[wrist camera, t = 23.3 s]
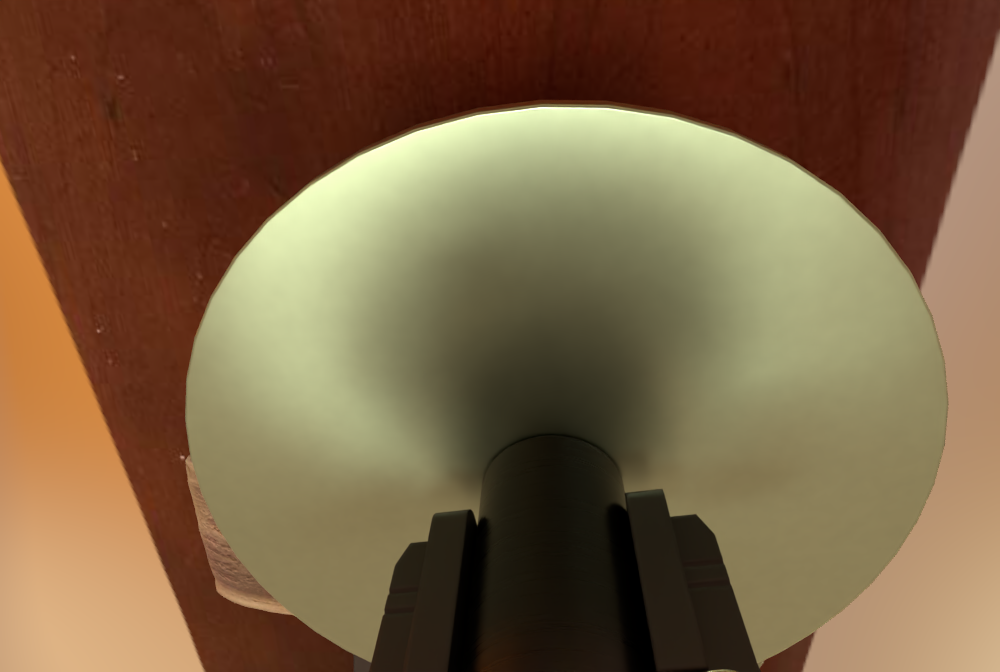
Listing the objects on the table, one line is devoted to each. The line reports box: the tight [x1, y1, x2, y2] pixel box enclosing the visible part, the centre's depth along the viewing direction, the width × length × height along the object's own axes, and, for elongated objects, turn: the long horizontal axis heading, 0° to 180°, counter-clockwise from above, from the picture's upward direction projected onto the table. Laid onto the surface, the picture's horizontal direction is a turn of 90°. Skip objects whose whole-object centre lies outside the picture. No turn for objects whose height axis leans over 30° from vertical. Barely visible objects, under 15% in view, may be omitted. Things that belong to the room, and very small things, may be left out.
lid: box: [185, 100, 948, 672], centre depth 11 cm, size 16×16×7 cm
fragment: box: [186, 455, 293, 615], centre depth 36 cm, size 13×16×5 cm
